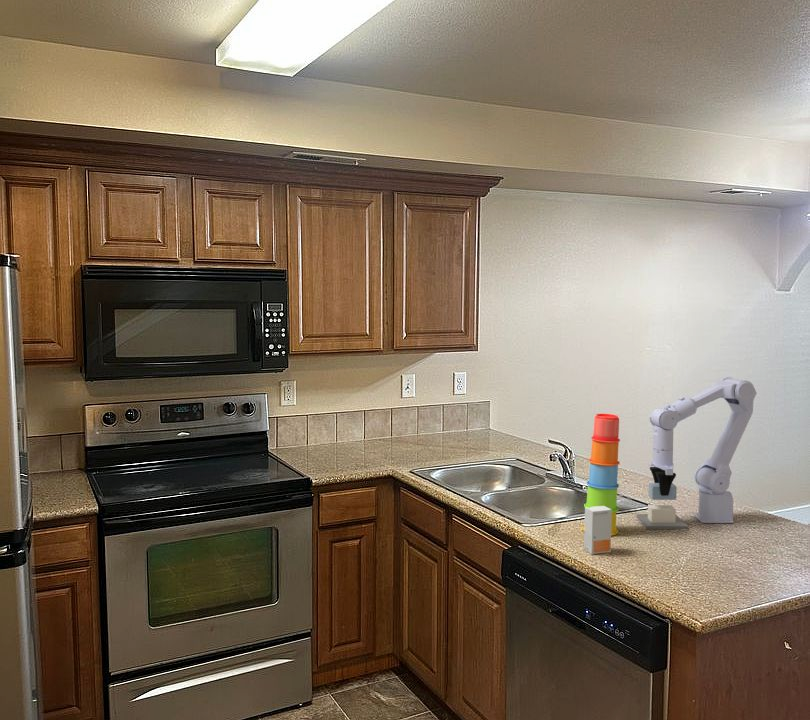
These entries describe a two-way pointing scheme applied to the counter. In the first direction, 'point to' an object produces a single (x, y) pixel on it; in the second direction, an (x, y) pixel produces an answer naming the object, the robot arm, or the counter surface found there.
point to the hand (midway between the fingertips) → (662, 493)
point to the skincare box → (597, 529)
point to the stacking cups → (604, 466)
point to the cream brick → (661, 513)
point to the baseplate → (661, 523)
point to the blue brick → (655, 492)
